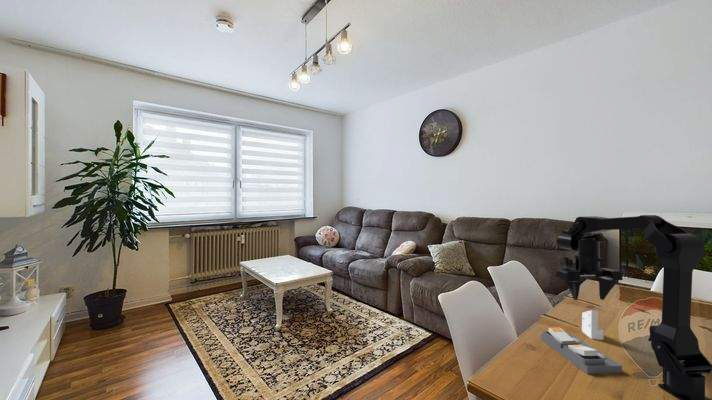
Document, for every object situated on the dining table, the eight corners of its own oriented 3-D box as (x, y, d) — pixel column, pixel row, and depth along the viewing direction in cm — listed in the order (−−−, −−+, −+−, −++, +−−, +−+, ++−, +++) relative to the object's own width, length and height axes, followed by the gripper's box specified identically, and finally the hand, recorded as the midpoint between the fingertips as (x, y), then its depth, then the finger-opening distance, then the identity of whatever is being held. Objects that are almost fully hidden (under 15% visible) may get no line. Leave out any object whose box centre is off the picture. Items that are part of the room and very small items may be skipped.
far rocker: (573, 344, 92) (574, 340, 91) (561, 344, 92) (561, 340, 91) (559, 331, 98) (560, 327, 97) (548, 331, 97) (548, 327, 97)
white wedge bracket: (599, 337, 96) (591, 309, 100) (584, 339, 104) (577, 314, 108) (612, 338, 95) (603, 310, 99) (595, 340, 103) (588, 314, 108)
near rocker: (598, 355, 83) (597, 349, 83) (584, 356, 83) (583, 350, 83) (581, 349, 89) (580, 344, 89) (568, 350, 88) (567, 344, 89)
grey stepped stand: (621, 372, 81) (622, 361, 81) (587, 373, 81) (587, 362, 81) (569, 338, 100) (569, 329, 100) (540, 339, 100) (540, 330, 100)
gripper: (595, 249, 106) (595, 291, 106) (545, 249, 106) (545, 292, 106) (624, 255, 95) (624, 302, 95) (568, 255, 95) (568, 303, 95)
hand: (588, 299), depth 98 cm, fingers open, 9 cm apart
